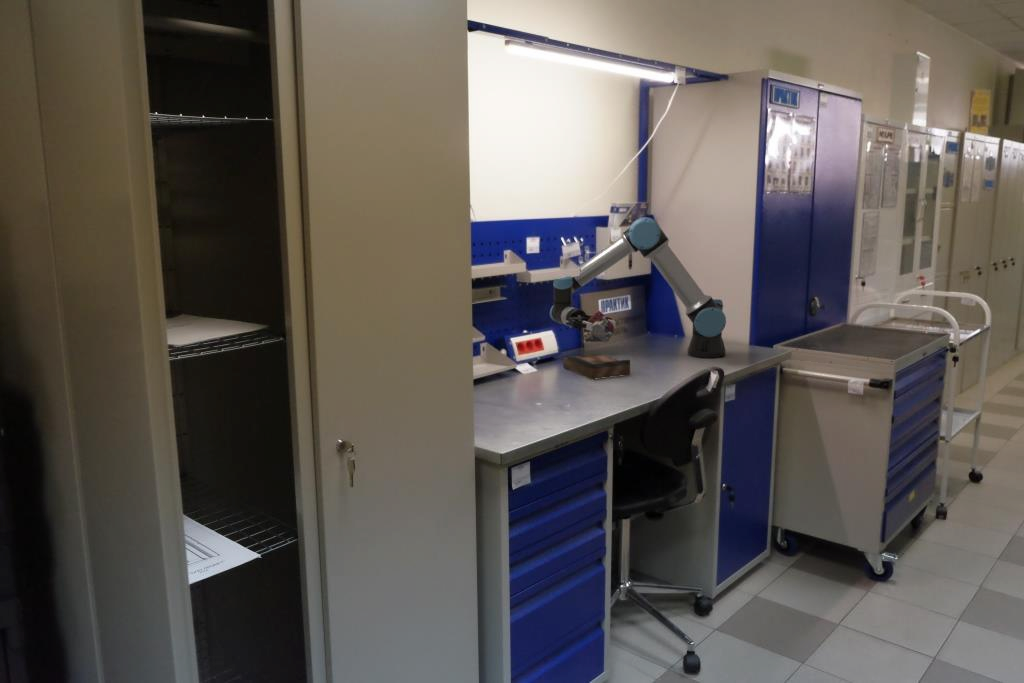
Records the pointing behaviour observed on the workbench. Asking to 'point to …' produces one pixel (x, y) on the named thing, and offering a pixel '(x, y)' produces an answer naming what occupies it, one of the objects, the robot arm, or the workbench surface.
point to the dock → (597, 366)
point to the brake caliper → (599, 329)
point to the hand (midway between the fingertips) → (603, 326)
